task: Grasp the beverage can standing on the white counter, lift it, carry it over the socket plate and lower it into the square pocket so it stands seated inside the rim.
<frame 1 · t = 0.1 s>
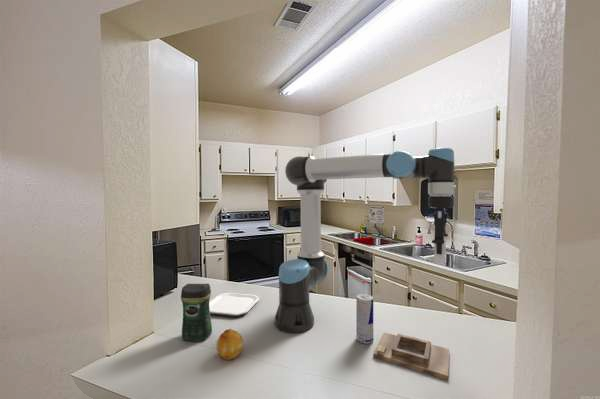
hand: (440, 259, 88), 28 cm above the counter, fingers open, 13 cm apart
socket plate: (411, 354, 82), on the counter
fruit: (230, 355, 83), on the counter
beverage can: (364, 340, 90), on the counter
coffee jar: (197, 336, 93), on the counter
plate: (232, 307, 118), on the counter
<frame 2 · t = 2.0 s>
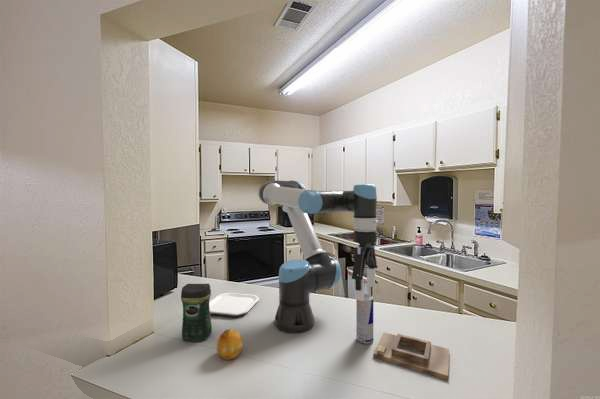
hand: (365, 292, 90), 16 cm above the counter, fingers open, 13 cm apart
nothing on the counter moved.
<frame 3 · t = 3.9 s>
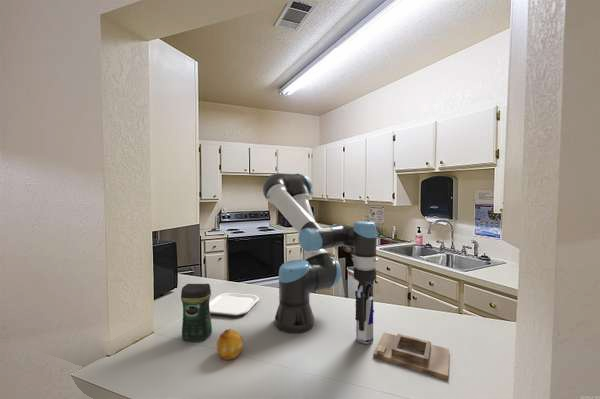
hand: (364, 334, 90), 2 cm above the counter, fingers closed on beverage can, 5 cm apart
beverage can: (364, 340, 90), on the counter, touching gripper
everything else where it was.
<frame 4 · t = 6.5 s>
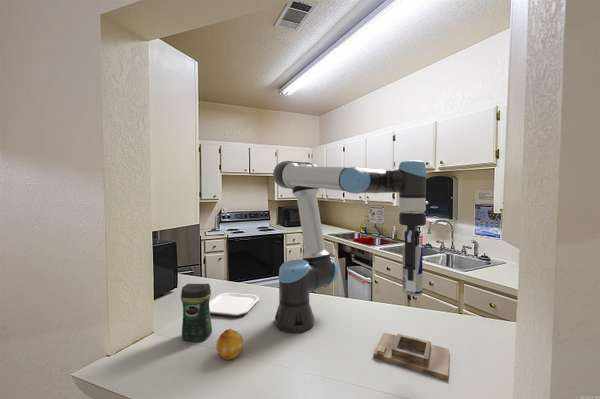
hand: (412, 287, 81), 21 cm above the counter, fingers closed on beverage can, 5 cm apart
beverage can: (412, 294, 81), point 19 cm above the counter, touching gripper
everything else where it was.
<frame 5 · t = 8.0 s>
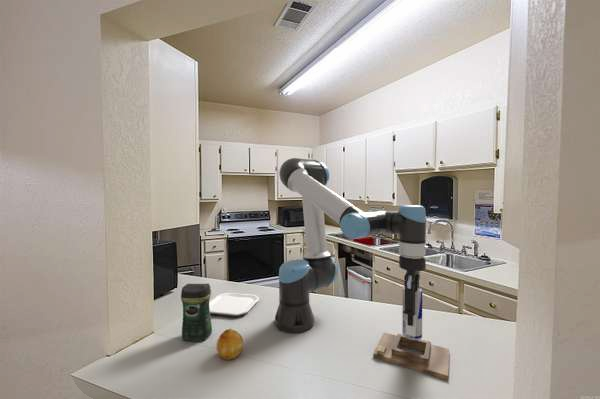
hand: (412, 330, 82), 8 cm above the counter, fingers closed on beverage can, 5 cm apart
beverage can: (412, 337, 82), point 6 cm above the counter, touching gripper
everything else where it was.
when the fingers open (4 cm above the counter, at t = 9.0 s): beverage can drops 2 cm, resting in socket plate.
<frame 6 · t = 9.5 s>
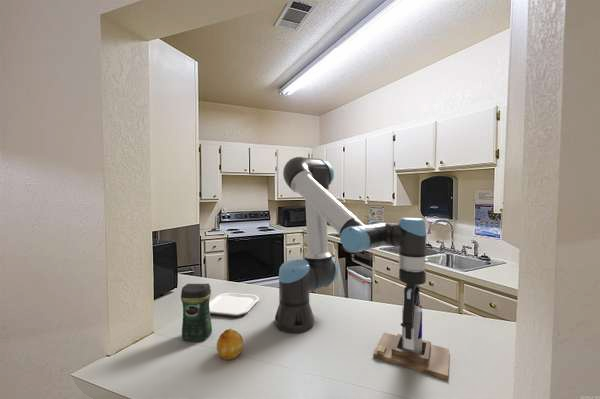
hand: (411, 338, 82), 5 cm above the counter, fingers open, 12 cm apart
beverage can: (411, 356, 82), resting in socket plate
everything else where it was.
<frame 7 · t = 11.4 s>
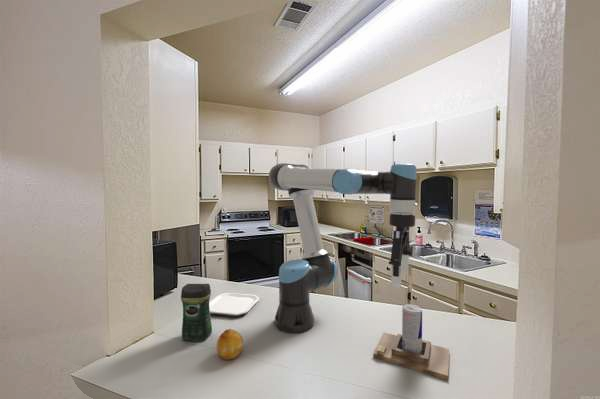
hand: (400, 279, 84), 22 cm above the counter, fingers open, 13 cm apart
nothing on the counter moved.
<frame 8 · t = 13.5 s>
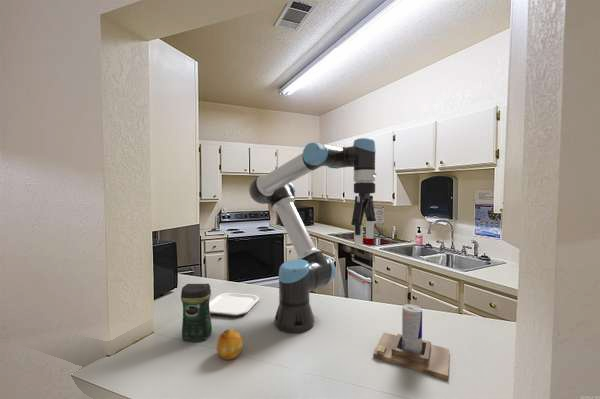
hand: (364, 241, 96), 33 cm above the counter, fingers open, 13 cm apart
nothing on the counter moved.
at the end: beverage can 0.3 cm off-centre on the socket plate, point 0.0 cm above the socket plate's base; beverage can tilted 0°; the gripper is holding nothing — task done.
